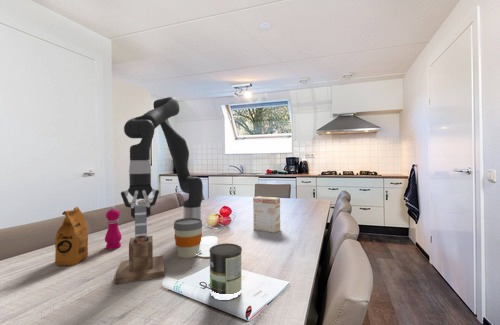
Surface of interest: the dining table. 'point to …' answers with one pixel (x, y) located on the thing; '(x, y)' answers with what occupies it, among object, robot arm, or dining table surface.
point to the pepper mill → (113, 229)
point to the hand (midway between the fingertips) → (140, 217)
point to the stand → (140, 262)
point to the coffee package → (71, 239)
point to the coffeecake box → (266, 213)
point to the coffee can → (225, 268)
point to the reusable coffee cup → (188, 236)
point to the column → (140, 222)
